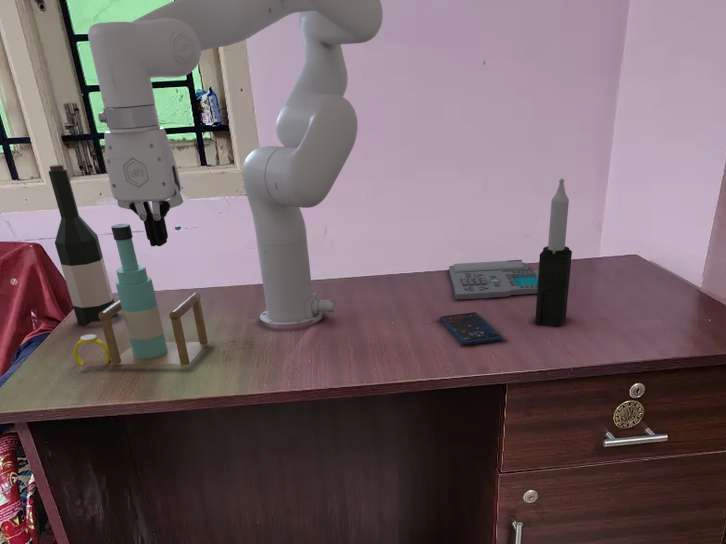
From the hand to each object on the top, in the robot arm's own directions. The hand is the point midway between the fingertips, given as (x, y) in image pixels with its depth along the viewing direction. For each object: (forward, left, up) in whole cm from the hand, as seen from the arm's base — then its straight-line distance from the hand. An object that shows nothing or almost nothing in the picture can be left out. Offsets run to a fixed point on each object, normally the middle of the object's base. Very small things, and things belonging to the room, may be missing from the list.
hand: (159, 244), depth 118 cm
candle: (-66, -19, -20) cm, 72 cm away
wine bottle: (+27, -21, -20) cm, 40 cm away
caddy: (+4, 0, -20) cm, 20 cm away
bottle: (+2, 0, -18) cm, 18 cm away
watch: (+15, +5, -20) cm, 26 cm away
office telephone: (-56, -45, -20) cm, 75 cm away
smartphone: (-51, -14, -20) cm, 57 cm away
